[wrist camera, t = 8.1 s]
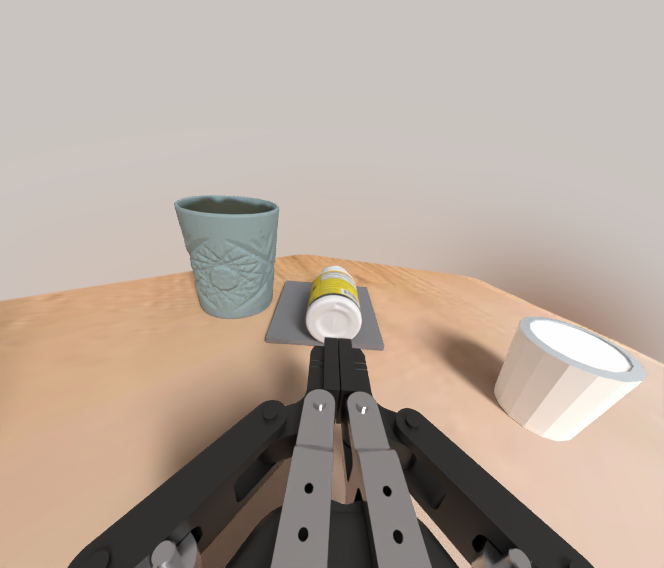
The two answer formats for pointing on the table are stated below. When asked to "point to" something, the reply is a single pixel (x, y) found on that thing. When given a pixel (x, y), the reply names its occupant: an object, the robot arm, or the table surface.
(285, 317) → the mat
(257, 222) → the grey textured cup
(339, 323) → the supplement bottle
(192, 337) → the table surface
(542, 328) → the shot glass
